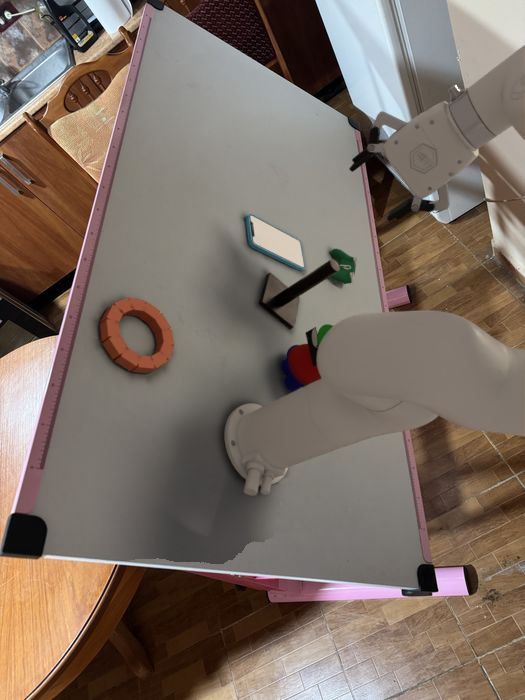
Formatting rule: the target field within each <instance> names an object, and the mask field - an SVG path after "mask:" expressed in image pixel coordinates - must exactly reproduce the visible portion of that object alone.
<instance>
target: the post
mask: <svg viewBox="0 0 525 700" xmlns="http://www.w3.org/2000/svg"><path fill="white" fill-rule="evenodd" d="M338 264H339V262H338V261H337V260H336V259H335V258H331V259H329V260H328V261H326V262H325V263H323V264H321V265H320V266H318V267H316V268H315V269H314V270H312V271H311V272H309V273H308V274H307V275H304V276H303V277H301V278H300V279H298V280H297V281H295V282H294V283H293V284H291V285H290V286H287V285H286V284H285V283H283V282H282V281H281V280H280V279H279V278H277V277H276V276H275V274H273V273H271V272H268V273H266V275H265V278H264V282H263V287H262V290H261V294H260V297H259V302H258V305H259V306H260V307H261V308H263V309H264V310H265V311H267V312H268V313H269V314H270V315H271V316H273V318H275V319H276V320H277V321H279V322H280V323H281V324H283V325H284V326H285V327H286V328H288V329H289V330H292V329H293V328H294V327H295V323H296V318H297V313H298V308H299V304H300V303H299V302H300V298H301V296H302V295H304V294H305V293H307V292H308V291H310V290H312V289H313V288H315V287H316V286H318V285H320V284H321V283H322V282H324V281H326V280H327V279H329V278H330V276H332V275H334V274H335V273H337V272H338V271H339V270H340V267H339V265H338Z"/></svg>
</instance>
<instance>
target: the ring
mask: <svg viewBox="0 0 525 700" xmlns="http://www.w3.org/2000/svg"><path fill="white" fill-rule="evenodd" d="M125 316H132V317H137V318H139V319H140V320H142V321H143V322H144V323H146V324H148V326H149V328H150V330H151V331H152V332H153V335H154V337H155V342H156V347H155V349H154V352H153V354H152V355H141V354H139V353H137V352H135V351H134V350H132V349H131V348H129V346H128V345H127V343H126V342H125V340H124V339H123V337H122V336H121V331H120V321H121V319H122V318H123V317H125ZM99 323H100V324H99V331H100V339H101V342H102V346H103V347H104V348H105V350H106V352H107V354H108V355H109V356H110V358H111V359H112V360H114V362H115V363H116V364H118V365H119V366H121V367H122V368H124V369H126V370H127V371H129V372H131V373H139V374H150V373H152V372H154V371H155V370H157V369H159V368H161V367H162V366H164V365H165V364H166V363H168V362H169V361H170V359H171V357H172V354H173V352H174V349H175V340H174V334H173V329H172V327H171V325H170V323H169V321H167V319H166V317H165V315H164V314H163V312H161V311H160V310H159V309H158V308H157V307H155V306H153V304H151V303H149V302H148V301H145V299H139V298H134V297H125V298H123V299H120V300H117V301H115V302H114V303H112V304H111V306H109V307H108V308H107V309H106V310H105V313H103V316H102V317H101V320H100V321H99Z"/></svg>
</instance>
